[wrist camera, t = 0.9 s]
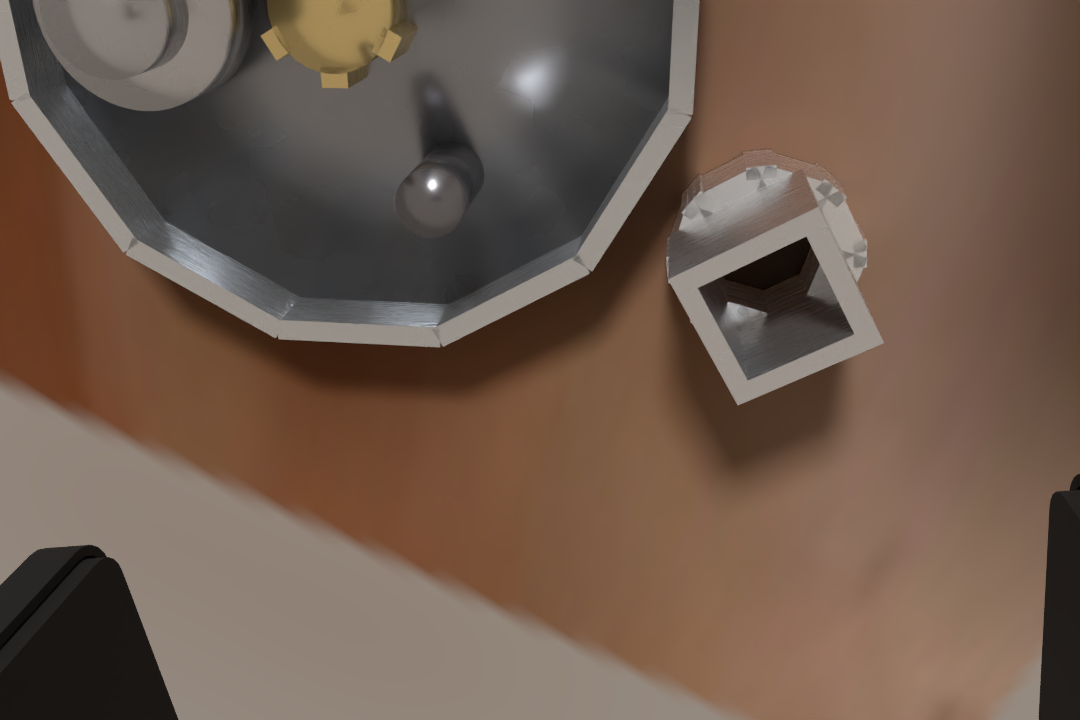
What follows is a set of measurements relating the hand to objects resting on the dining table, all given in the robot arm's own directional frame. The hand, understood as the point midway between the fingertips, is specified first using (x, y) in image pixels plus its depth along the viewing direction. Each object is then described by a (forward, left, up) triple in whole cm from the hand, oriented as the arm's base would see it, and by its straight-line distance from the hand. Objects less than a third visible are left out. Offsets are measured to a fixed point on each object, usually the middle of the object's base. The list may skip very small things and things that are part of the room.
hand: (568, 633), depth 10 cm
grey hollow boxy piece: (-1, +5, -24) cm, 25 cm away
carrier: (+6, -8, -24) cm, 26 cm away
